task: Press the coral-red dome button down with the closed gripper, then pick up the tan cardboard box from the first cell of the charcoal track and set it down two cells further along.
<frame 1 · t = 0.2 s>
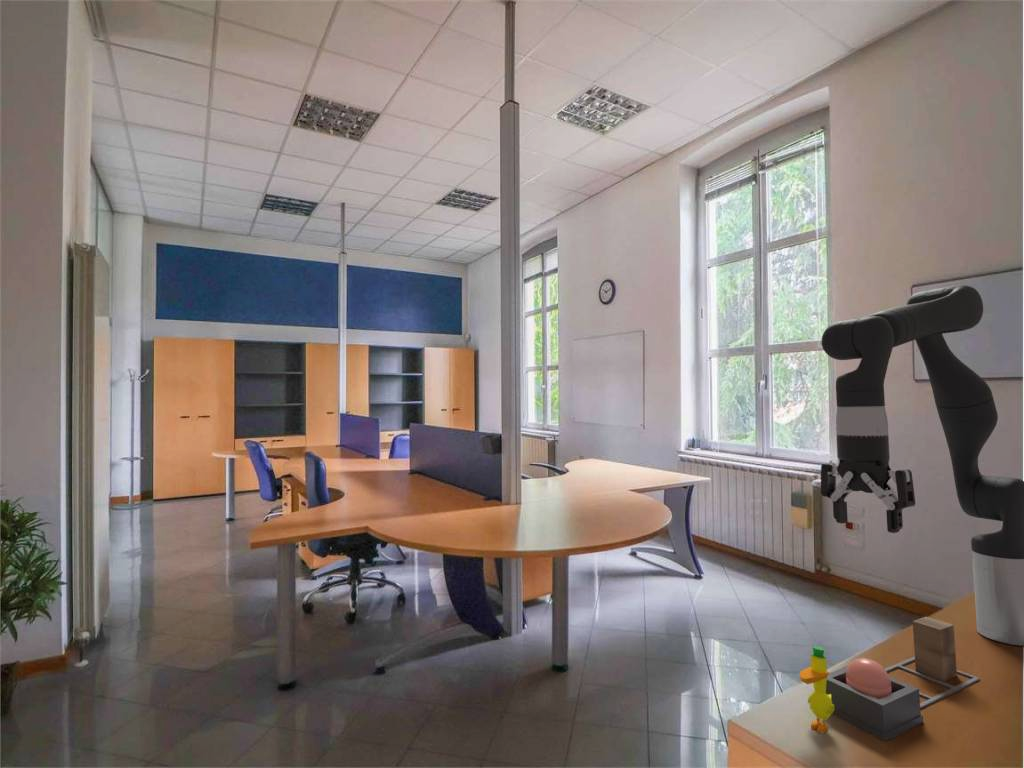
hand: (866, 527, 90), 28 cm above the table, tool pointing down, fingers open, 8 cm apart
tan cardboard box: (936, 673, 95), on the table
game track: (914, 682, 92), on the table
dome: (868, 679, 84), point 5 cm above the table, slide at 0.0 cm
toy figure: (818, 729, 80), on the table
dome housing: (870, 714, 83), on the table
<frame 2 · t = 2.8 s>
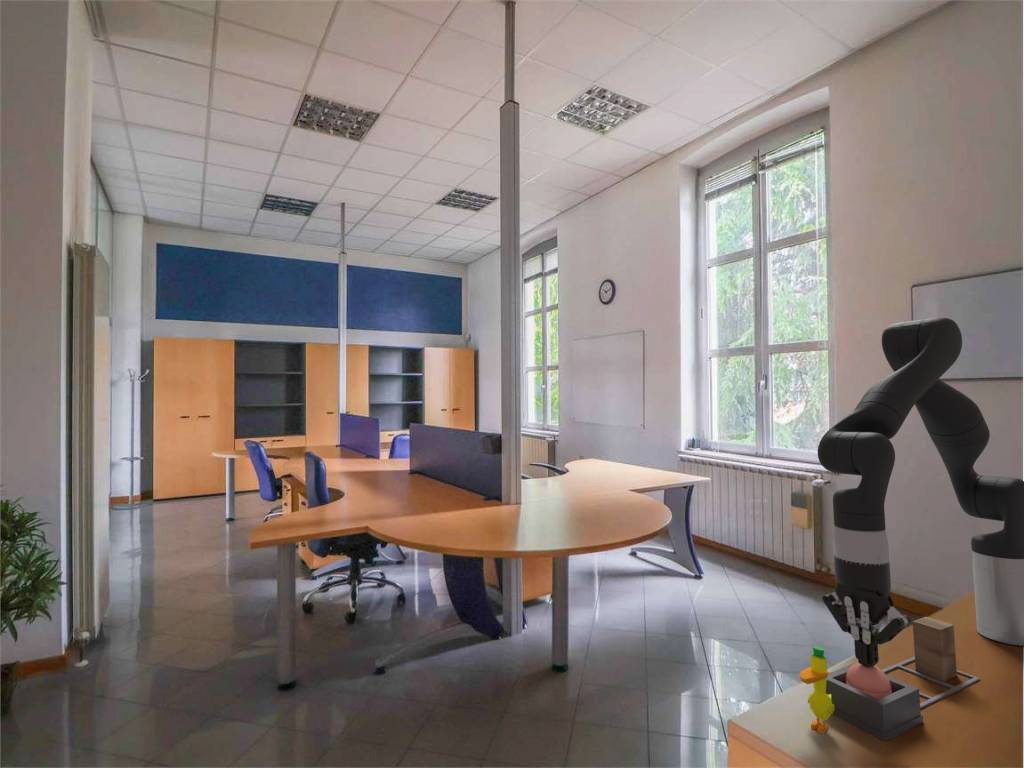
hand: (867, 664, 84), 8 cm above the table, tool pointing down, fingers closed
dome: (868, 683, 84), point 5 cm above the table, slide at 0.7 cm, touching gripper
everything else where it was.
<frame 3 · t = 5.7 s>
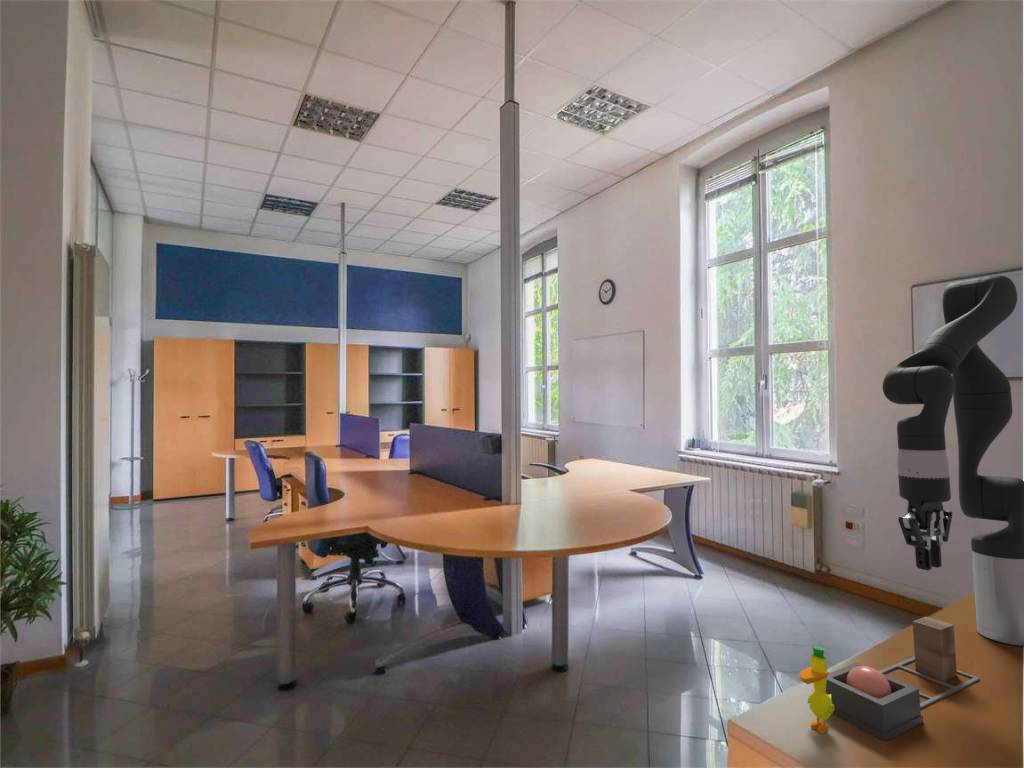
hand: (929, 567, 96), 19 cm above the table, tool pointing down, fingers closed
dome: (868, 687, 84), point 4 cm above the table, slide at 1.2 cm
everything else where it was.
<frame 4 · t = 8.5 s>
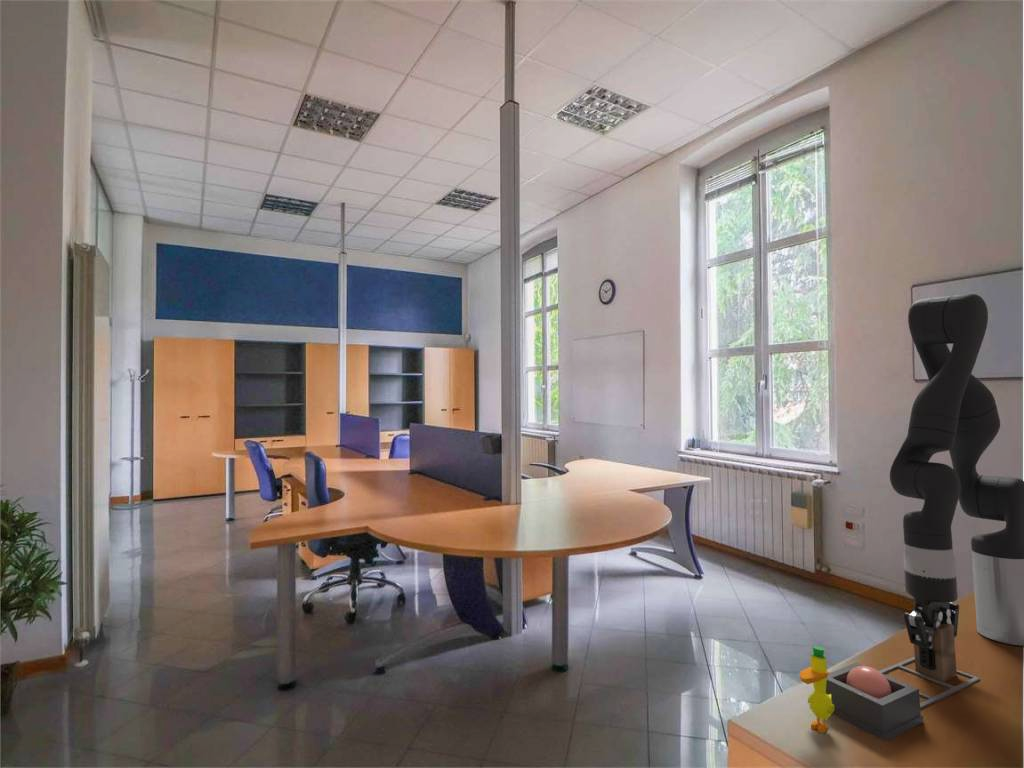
hand: (935, 664, 95), 2 cm above the table, tool pointing down, fingers closed on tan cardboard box, 4 cm apart
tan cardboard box: (935, 673, 95), on the table, touching gripper
everything else where it was.
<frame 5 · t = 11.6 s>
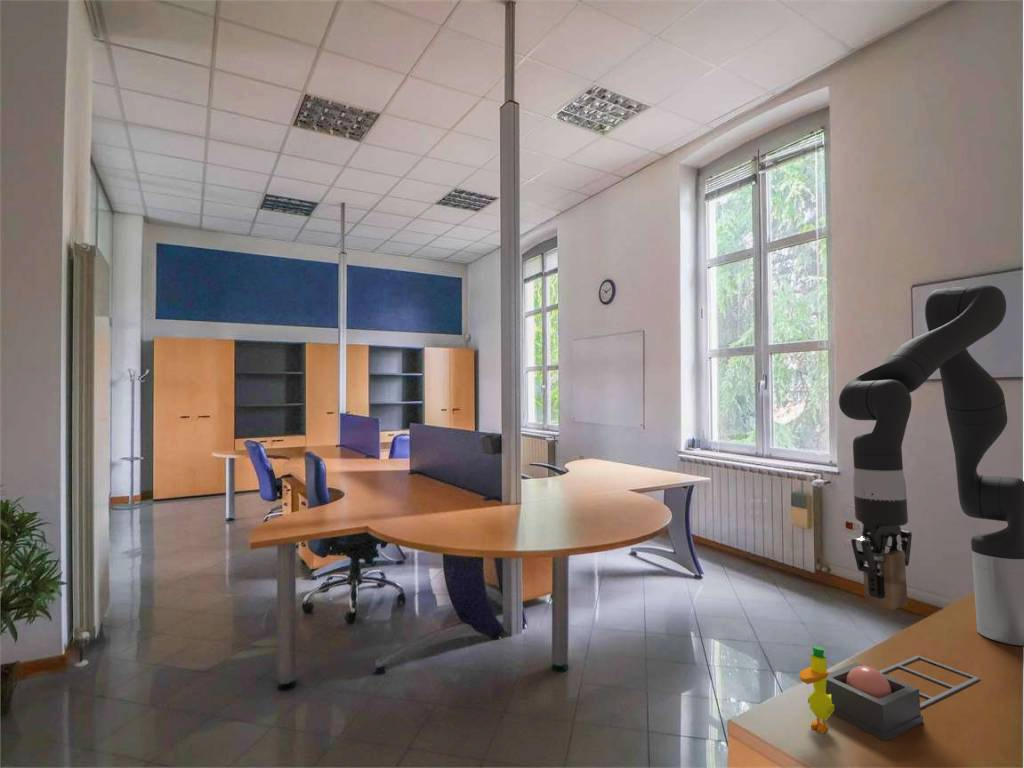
hand: (885, 593, 90), 17 cm above the table, tool pointing down, fingers closed on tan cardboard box, 4 cm apart
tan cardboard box: (886, 603, 90), point 15 cm above the table, touching gripper
everything else where it was.
when the fingers open (3 cm above the table, at t = 14.8 s): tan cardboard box drops 1 cm, on the table.
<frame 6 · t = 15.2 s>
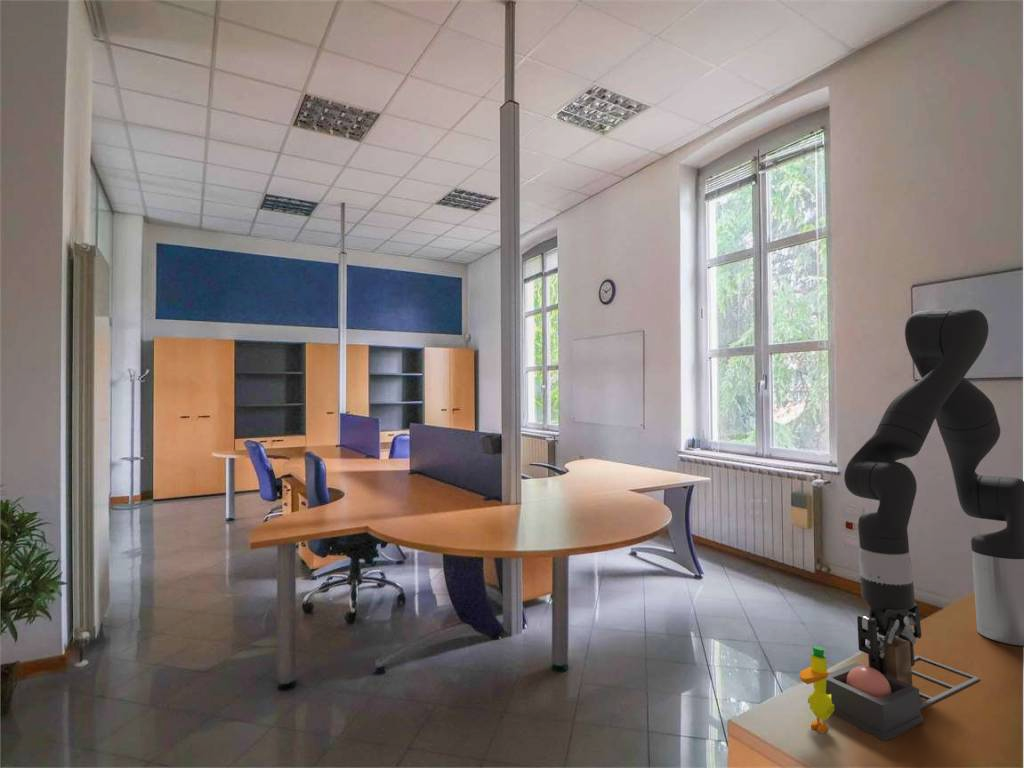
hand: (892, 670, 90), 4 cm above the table, tool pointing down, fingers open, 8 cm apart
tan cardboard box: (891, 693, 89), on the table
everything else where it was.
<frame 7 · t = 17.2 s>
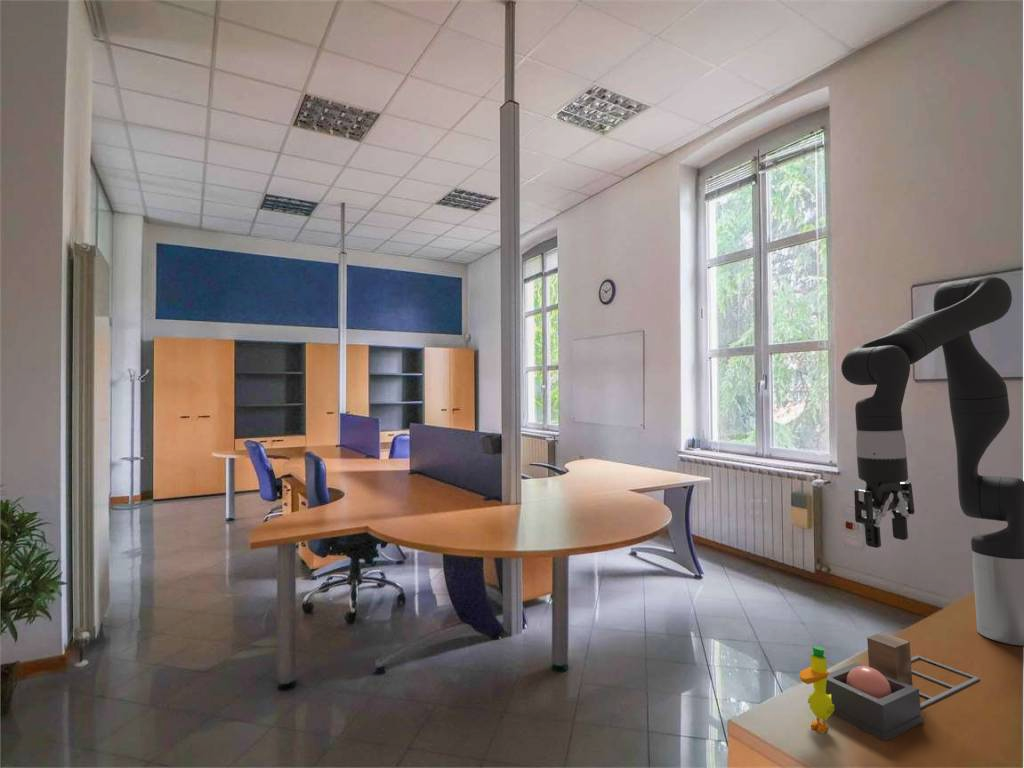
hand: (887, 542, 96), 24 cm above the table, tool pointing down, fingers open, 8 cm apart
nothing on the table moved.
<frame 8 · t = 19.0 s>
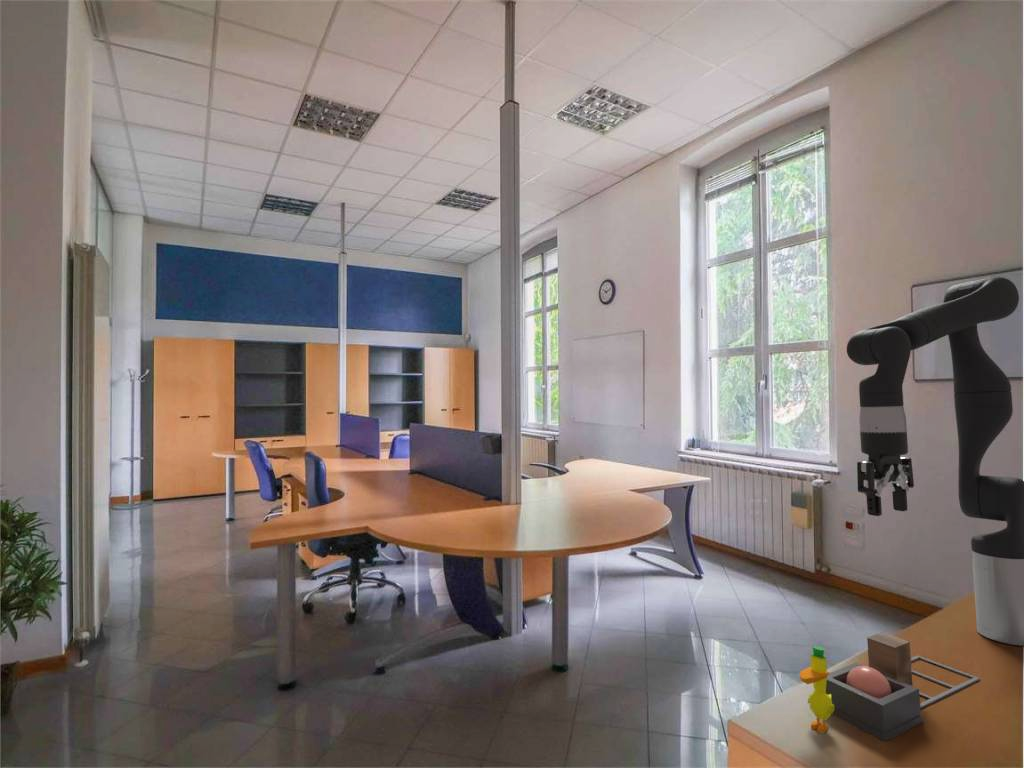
hand: (887, 512, 102), 28 cm above the table, tool pointing down, fingers open, 8 cm apart
nothing on the table moved.
at the end: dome slide at 1.2 cm; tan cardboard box 0.0 cm from the target spot, on the table; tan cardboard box tilted 0° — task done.
